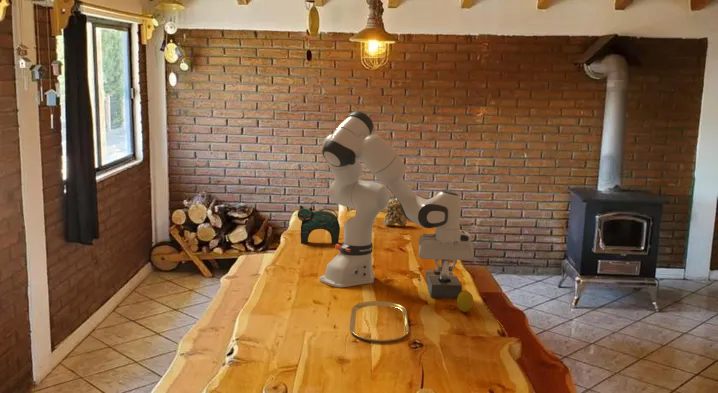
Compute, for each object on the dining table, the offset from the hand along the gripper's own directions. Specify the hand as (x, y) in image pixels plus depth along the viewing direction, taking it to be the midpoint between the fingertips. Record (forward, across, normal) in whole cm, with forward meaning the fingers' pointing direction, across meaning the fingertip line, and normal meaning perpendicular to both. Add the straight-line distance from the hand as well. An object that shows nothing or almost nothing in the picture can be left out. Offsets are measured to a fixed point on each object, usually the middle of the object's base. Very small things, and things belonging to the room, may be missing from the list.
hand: (445, 270), depth 254 cm
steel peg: (+7, 0, 0) cm, 7 cm away
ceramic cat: (+9, -49, +70) cm, 86 cm away
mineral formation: (+9, -10, +108) cm, 109 cm away
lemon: (+9, +4, -20) cm, 22 cm away
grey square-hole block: (+9, 0, 0) cm, 9 cm away
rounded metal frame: (+10, -26, -31) cm, 41 cm away
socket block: (+9, 0, +12) cm, 15 cm away
